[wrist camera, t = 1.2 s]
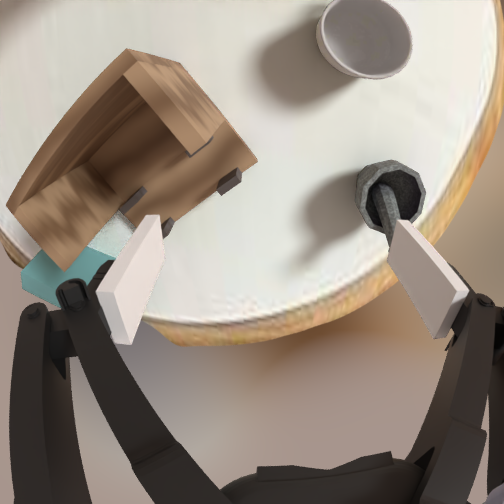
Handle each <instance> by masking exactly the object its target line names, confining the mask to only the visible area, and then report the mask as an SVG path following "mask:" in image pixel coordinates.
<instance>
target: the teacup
mask: <svg viewBox="0 0 504 504" xmlns="http://www.w3.org/2000/svg"><path fill="white" fill-rule="evenodd" d="M316 40H317V44H318V47H319V49H320V52H321V53H322V55H323V56H324V58H325V59H326V60H327V61H328V62H329V63H330V64H331V65H332V66H333V67H334V68H336V69H337V70H339V71H341V72H342V73H344V74H347V75H350V76H354V77H359V78H368V79H384V78H388V77H391V76H393V75H395V74H397V73H398V72H400V71H401V70H402V69H403V68H404V67H405V66H406V64H407V63H408V61H409V59H410V56H411V53H412V46H413V45H412V36H411V32H410V29H409V26H408V25H407V23H406V21H405V19H404V18H403V16H402V15H401V14H400V13H399V12H398V11H397V10H396V9H395V8H394V7H393V6H391V5H390V4H388V3H387V2H385V1H383V0H333V1H332V2H331V3H330V4H328V6H327V7H326V9H325V10H324V12H323V14H322V16H321V18H320V20H319V22H318V25H317V29H316Z"/></svg>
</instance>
